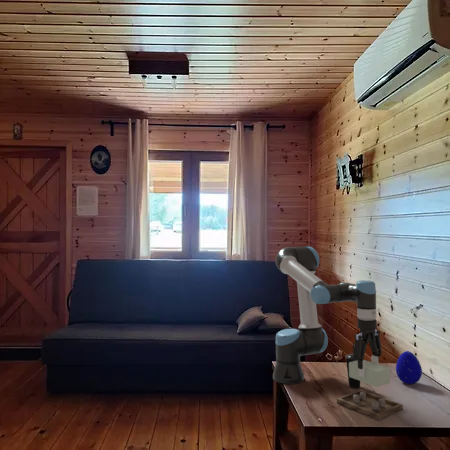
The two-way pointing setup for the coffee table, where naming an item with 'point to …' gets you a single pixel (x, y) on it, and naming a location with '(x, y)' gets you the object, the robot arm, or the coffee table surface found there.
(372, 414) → the peg frame
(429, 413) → the coffee table surface
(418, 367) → the ornament
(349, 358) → the drinking cup
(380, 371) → the grey boxy block
